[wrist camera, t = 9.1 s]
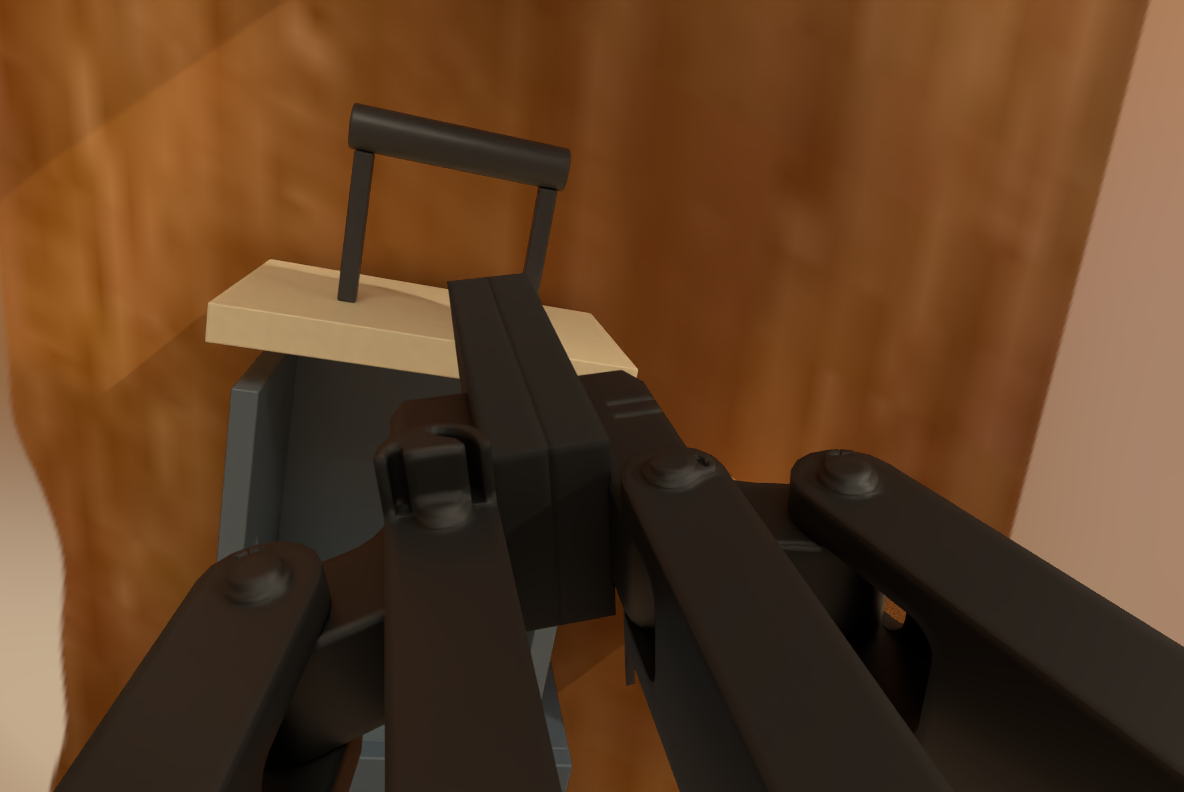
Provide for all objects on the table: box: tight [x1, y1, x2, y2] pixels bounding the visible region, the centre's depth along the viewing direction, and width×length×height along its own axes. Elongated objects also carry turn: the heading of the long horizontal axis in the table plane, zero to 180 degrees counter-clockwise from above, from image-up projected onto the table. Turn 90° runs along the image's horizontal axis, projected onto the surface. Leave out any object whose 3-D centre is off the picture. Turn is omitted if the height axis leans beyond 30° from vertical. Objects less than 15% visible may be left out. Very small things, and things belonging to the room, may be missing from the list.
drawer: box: [205, 103, 638, 742], centre depth 30 cm, size 23×13×9 cm, turn 168°
